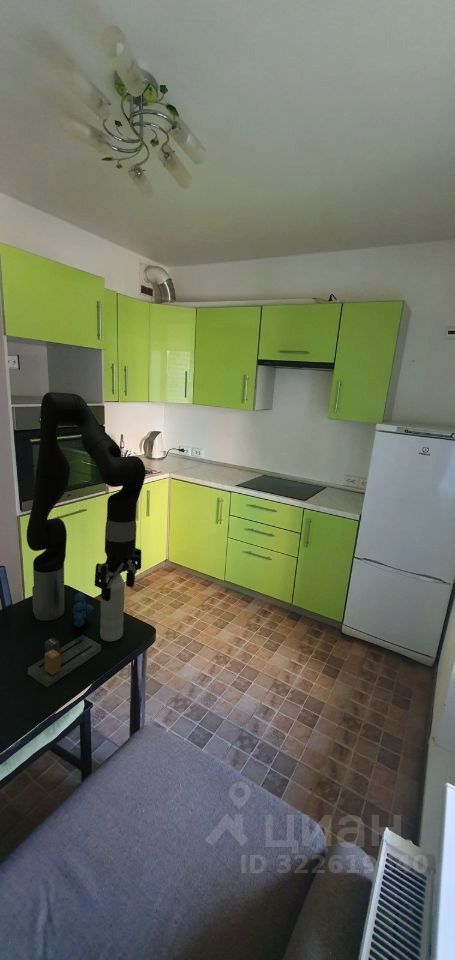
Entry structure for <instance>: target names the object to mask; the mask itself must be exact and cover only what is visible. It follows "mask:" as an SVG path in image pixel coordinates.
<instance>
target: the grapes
mask: <svg viewBox="0 0 455 960" xmlns="http://www.w3.org/2000/svg"><path fill="white" fill-rule="evenodd" d="M73 600H74V601H75V602H76V603H75V605H73V608H72V609H71V611H72V613H73V614H74V615H73V618H74V621H73V625H74V626H75V627H77V628H81V627H82V626H83V625H85V623H86V621H85V620H84V618H85V617H86V616H87V614H88V615H89V614H90V613H91V612H92V611H93V610H94V609H95V608H94V607H93V606H92V605H91V604H88V603H87V602H86V594H84V592H82V591H78V592H77V593H76V594H75V595H74V599H73Z"/></svg>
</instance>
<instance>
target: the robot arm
mask: <svg viewBox="0 0 455 960" xmlns="http://www.w3.org/2000/svg"><path fill="white" fill-rule="evenodd" d="M39 417H40V422H39V423H40V425H39V428H40V429H39V431H40V432H39V444H38V446H39V447H38V454H37V463H36V469H35V478H34V479H35V480H34V489H33V499H32V505H31V508H30V509H31V510H30V514H29V519H28V523H27V527H26V543H27V545H28V547H29V549H30V550H32V551H34V552H40V551H42V552H41V553H40V554H38V555H37V556H35V558H34V559H33V562H32V569H33V570H32V573H33V575H32V576H33V586H32V613H34V618H35V619H36V620H38V621H43V622H44V621H45V622H46V621H48V622H49V621H53V620H56V619H58V618H60V617H62V616H63V615H64V613H65V561H66V556H67V555H66V554H67V552H66V551H67V538H68V537H67V536H68V534H67V528H66V527H67V526H66V525H65V522H64V521H63V520H62V519H61V518H60V517H53V518H49V515H50V513H51V512H52V510H53V508H54V507H55V506H56V505H57V504H58V502H59V501H60V500H61V498H63V496H64V495H65V494H66V491H67V489H68V487H69V481H70V475H71V466H70V463H69V460H68V458H67V457H66V455H65V453H63V450H62V448H61V447H60V444H59V442H58V429H59V427H78V428H80V429H81V430H82V432H81V436H80V437H81V438H80V440H81V444H82V448H83V450H84V451H85V452H86V454H87V455H89V457H90V458H91V459H92V460H93V461H94V463H95V465H96V467H97V470H98V472H99V476H100V478H101V481H102V482H103V483H104V484H105V485H107V486H109V487H111V488H119V487H121V488H120V490H119V491H117V492H115V493H113V494H111V495H109V496H108V498H107V503H106V504H107V505H106V521H105V531H104V553H105V555H106V560H105V562H104V563H99V562H98V563H96V565H95V573H94V587H95V588H98V589H101V590H100V598H101V597H102V599H103V600H105V601H109V600H110V599H111V587H110V586H111V584H112V582H113V581H114V580H116V578H117V576H118V575H119V574H121V573H124V572H126V577H125V586H127V587H129V588H131V589H132V588H133V587H135V582H136V581H135V580H136V574H137V573H138V571H140V570H141V568H142V549H141V548H137V547H136V544H137V504H138V501H139V497H140V495H141V492H142V489H143V485H144V482H145V479H146V471H147V470H146V465H145V463H144V461H143V460H142V458H140V457H139V456H134V455H129V456H122V450H121V447H120V446H119V444H118V443H117V442H116V441H115V440H114V439H113V438H112V437H111V436H110V435H109V434H108V433H107V432H106V431H105V430H104V428H103V427H102V426H101V424H100V422H99V421H98V420H97V418H96V417H95V415H94V413H93V412H92V410H91V408H90V407H89V405H88V404H87V402H86V401H85V399H84V398H83V397H82V396H81V395H79V394H76V393H70V392H69V393H68V392H59V391H58V392H52V391H50V392H49V391H48V392H46V393H45V394H44V395H43V397H42V399H41V405H40V415H39ZM48 518H49V519H48ZM109 571H110V572H111V573H113V575H109ZM107 578H109V580H108V582H106V580H107Z"/></svg>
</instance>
